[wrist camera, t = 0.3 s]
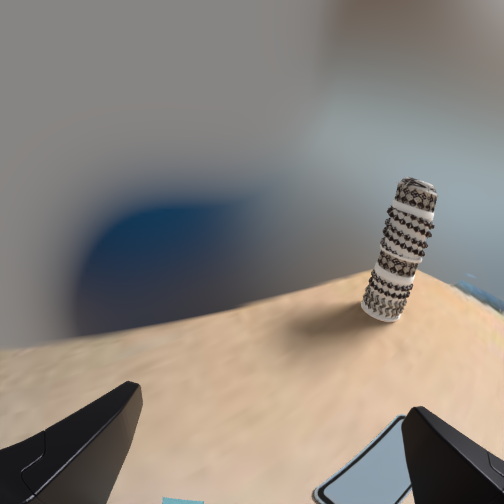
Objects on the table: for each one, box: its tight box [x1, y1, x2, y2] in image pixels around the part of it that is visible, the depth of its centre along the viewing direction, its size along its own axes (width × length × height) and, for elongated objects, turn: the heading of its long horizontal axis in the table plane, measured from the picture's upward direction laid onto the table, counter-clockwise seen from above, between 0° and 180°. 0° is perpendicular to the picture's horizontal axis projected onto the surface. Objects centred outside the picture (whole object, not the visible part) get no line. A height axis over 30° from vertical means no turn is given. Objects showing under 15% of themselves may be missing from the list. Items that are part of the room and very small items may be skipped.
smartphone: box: [314, 414, 412, 504], centre depth 18 cm, size 7×1×15 cm
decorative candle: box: [361, 177, 438, 322], centre depth 44 cm, size 9×9×25 cm
